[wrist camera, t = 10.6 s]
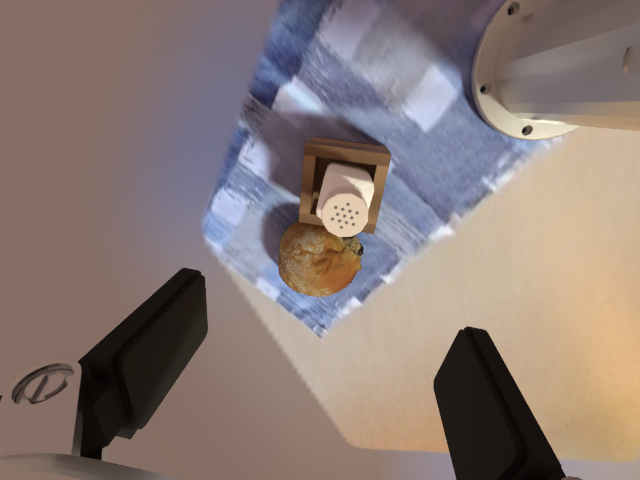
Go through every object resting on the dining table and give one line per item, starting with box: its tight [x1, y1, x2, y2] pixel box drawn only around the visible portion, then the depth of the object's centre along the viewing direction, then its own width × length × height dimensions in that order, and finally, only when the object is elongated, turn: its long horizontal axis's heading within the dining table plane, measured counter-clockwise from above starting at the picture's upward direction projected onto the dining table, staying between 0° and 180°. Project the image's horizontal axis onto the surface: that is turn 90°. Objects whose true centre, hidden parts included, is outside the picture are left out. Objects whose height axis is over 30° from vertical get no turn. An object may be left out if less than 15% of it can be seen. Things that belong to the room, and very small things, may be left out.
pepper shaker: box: [316, 161, 374, 237], centre depth 23 cm, size 4×4×10 cm
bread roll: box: [278, 221, 363, 297], centre depth 33 cm, size 10×10×8 cm
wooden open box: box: [299, 137, 391, 234], centre depth 28 cm, size 7×7×6 cm
